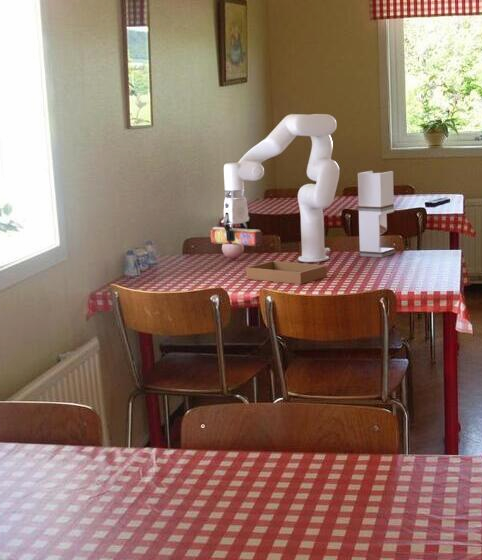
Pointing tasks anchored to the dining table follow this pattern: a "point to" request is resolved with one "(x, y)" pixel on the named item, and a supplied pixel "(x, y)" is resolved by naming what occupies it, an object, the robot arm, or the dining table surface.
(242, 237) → the snack package
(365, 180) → the coffee grinder
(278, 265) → the brown cardboard tray
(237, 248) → the decorative fruit
